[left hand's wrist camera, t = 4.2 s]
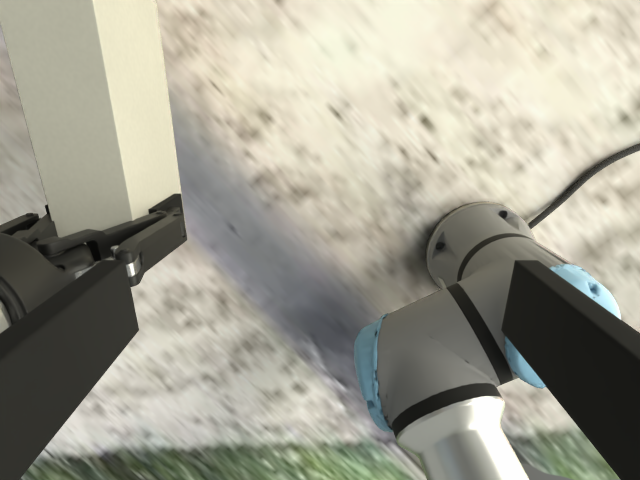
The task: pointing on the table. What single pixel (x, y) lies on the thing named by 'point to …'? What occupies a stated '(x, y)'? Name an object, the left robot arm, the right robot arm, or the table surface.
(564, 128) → the table surface
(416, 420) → the left robot arm
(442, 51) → the table surface
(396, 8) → the table surface
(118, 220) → the box
